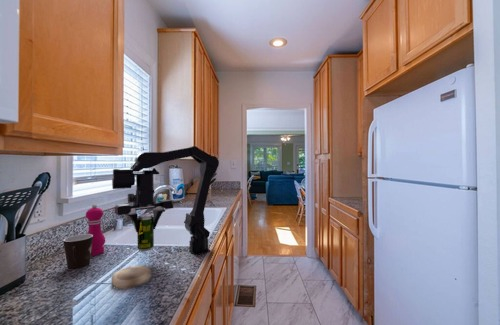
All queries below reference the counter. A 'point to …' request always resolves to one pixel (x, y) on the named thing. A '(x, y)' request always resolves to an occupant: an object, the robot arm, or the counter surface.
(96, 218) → the pepper mill
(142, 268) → the plate
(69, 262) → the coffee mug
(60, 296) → the counter surface
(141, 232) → the beer can
